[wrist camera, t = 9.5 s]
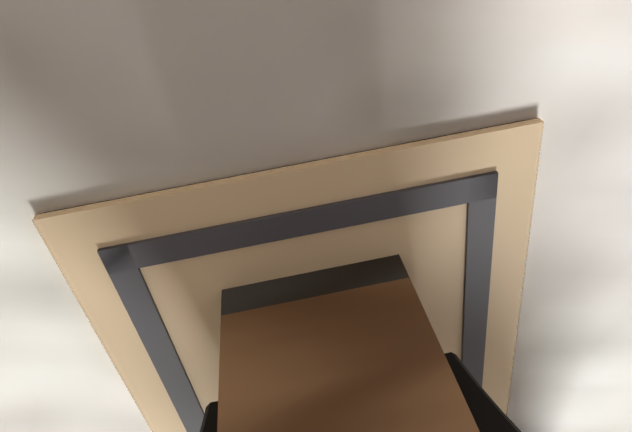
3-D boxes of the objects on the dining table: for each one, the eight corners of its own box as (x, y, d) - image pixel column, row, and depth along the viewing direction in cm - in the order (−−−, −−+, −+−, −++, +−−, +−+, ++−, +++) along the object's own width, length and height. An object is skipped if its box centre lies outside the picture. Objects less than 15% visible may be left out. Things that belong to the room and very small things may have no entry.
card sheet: (538, 118, 10) (546, 124, 10) (502, 415, 15) (507, 424, 15) (35, 214, 9) (30, 223, 9) (185, 483, 15) (184, 493, 15)
